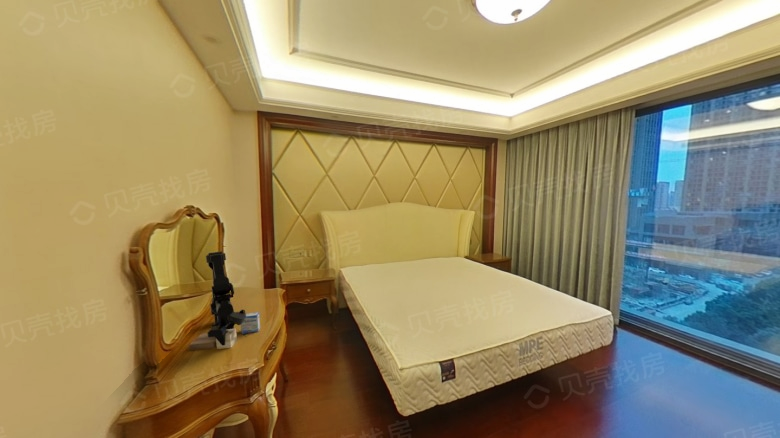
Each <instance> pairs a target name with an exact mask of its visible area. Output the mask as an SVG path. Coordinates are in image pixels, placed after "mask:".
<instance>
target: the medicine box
mask: <svg viewBox="0 0 780 438" xmlns="http://www.w3.org/2000/svg"><path fill="white" fill-rule="evenodd" d="M260 329H261V321H260V312H259V311H257V312H250V313H246V317H245V319H244V322H243V323H242V324H241V325H240V331H241V334H242V335H244V334H250V333H257V332H259V331H260Z"/></svg>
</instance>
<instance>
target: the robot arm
mask: <svg viewBox="0 0 780 438" xmlns="http://www.w3.org/2000/svg"><path fill="white" fill-rule="evenodd" d="M205 260H206V263H207V264H208V267H209V268H210V269H211V271H212V272H211V273H212V286H211V294H212V298H211V303H210V314H211V315H212V316H213V315H214V322H213V323H212V325H211V326H213V327H211V328H210V329H209V330H208V332H206V333H207V334H208V337H215V338H216V339H217V340H218V341H219V342H220V344H221V345H222V346H223V345H225V336H226V333H227V332H228V331H226V330H227V329H235V325H237V326H241V324H242V323H243V322H244V319H245V317H246V314H247V313H246V310H245V309H240V311H235V309H234V306H233V304H232V301H231V298H234V295H235V289H234V285H233V284H232V282H230V279H229V277H228V276H226V273H225V269H224V265H225V261H226V260H227V257H226V253H225V252H224V253H223V251H222V250H221V251H215V252H208V254H207V255H205Z"/></svg>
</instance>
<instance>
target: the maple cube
mask: <svg viewBox="0 0 780 438" xmlns="http://www.w3.org/2000/svg"><path fill="white" fill-rule="evenodd" d="M226 331H228V332H227V333H226V336H225V345H223V346H222V345H221V344H220V342H219V341H218V340H217V339H216V343H217V345H216V349H218V350H220V349H221V350H222V349H231V348H232V347H233V346H234V345H235V344H236V343H237V341H238V337H237V329H236V328H234V329H227V330H226Z"/></svg>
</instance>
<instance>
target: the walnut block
mask: <svg viewBox="0 0 780 438" xmlns="http://www.w3.org/2000/svg"><path fill="white" fill-rule="evenodd" d="M207 333H208V332H203V333H201V334H200V335H198V336H197V337H196V338H195V339H194V340H193V341H192V342H191V343H189V350H190V351H194V350H205V349H207V350H208V349H214V348H216V347H217V343H216V338H215V337H208V334H207Z"/></svg>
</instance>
